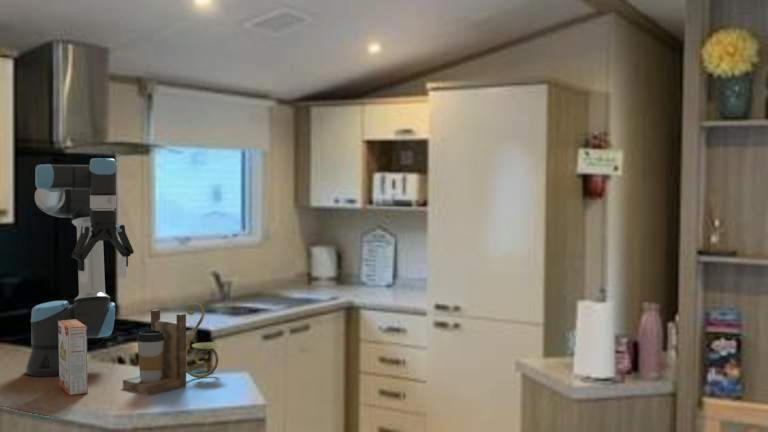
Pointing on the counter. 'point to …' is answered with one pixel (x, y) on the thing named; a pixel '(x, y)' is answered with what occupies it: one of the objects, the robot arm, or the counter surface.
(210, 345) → the wall sconce
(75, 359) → the cracker box
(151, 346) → the coffee cup
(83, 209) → the robot arm
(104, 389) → the counter surface
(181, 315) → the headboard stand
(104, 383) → the counter surface
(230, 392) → the counter surface
